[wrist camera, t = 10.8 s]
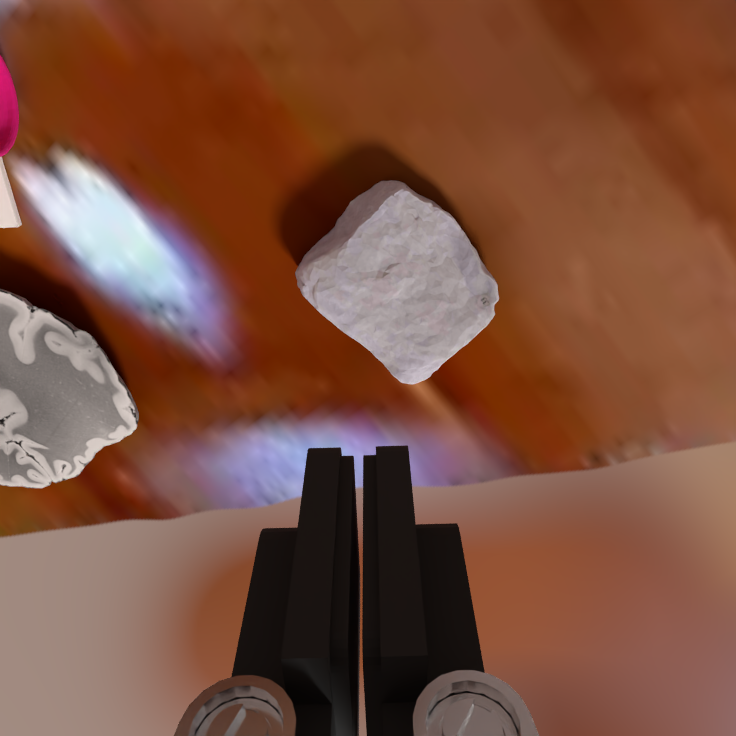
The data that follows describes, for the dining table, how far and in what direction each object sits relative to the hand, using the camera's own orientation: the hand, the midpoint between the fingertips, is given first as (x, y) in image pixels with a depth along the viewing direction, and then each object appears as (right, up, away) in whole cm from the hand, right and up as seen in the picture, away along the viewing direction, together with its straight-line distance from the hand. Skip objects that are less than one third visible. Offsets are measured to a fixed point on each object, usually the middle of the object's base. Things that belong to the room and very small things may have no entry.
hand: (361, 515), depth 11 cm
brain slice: (-27, +2, +36) cm, 45 cm away
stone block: (+3, +9, +32) cm, 34 cm away
